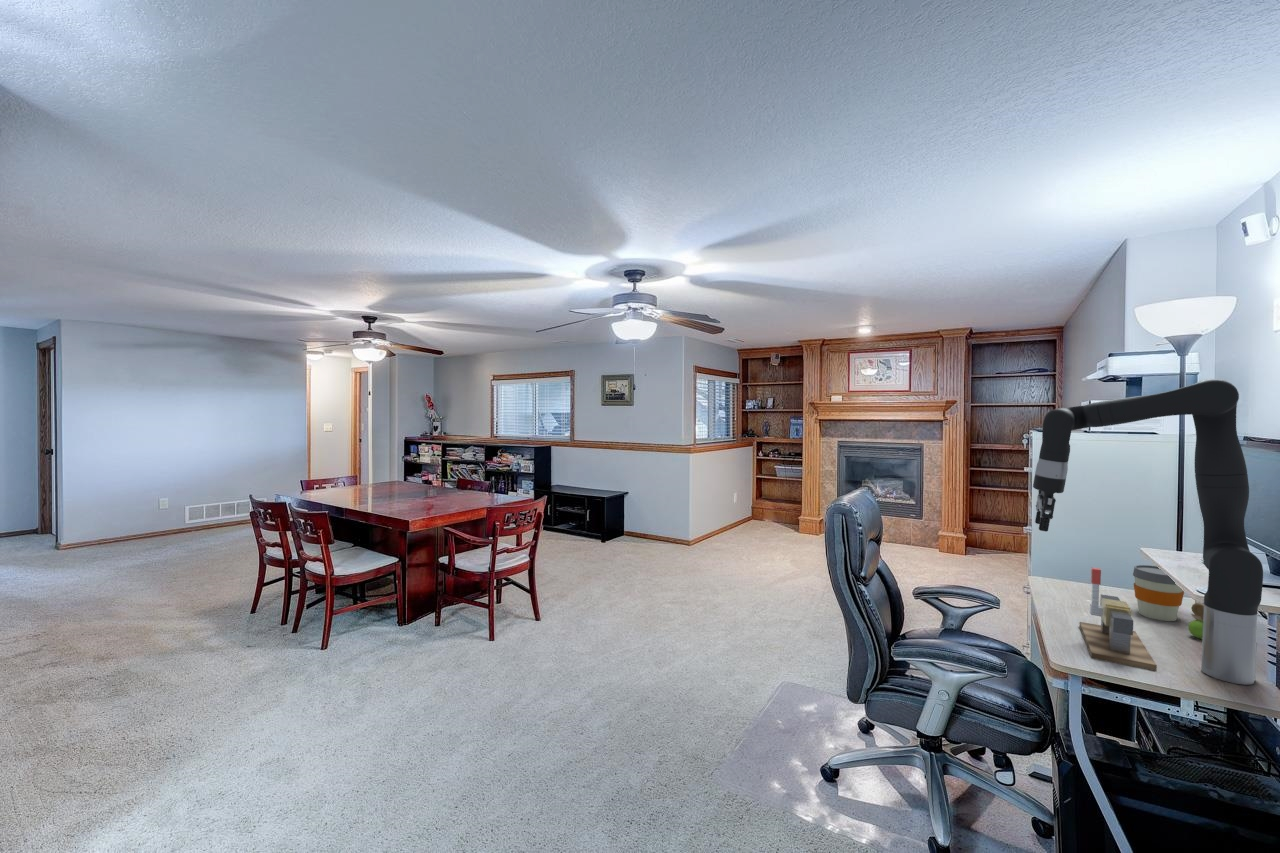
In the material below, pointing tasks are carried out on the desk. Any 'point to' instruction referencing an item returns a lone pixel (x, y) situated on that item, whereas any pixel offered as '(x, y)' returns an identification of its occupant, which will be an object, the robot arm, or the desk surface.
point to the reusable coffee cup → (1156, 593)
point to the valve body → (1116, 623)
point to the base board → (1101, 651)
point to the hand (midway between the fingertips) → (1041, 527)
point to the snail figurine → (1197, 625)
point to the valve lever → (1095, 592)
